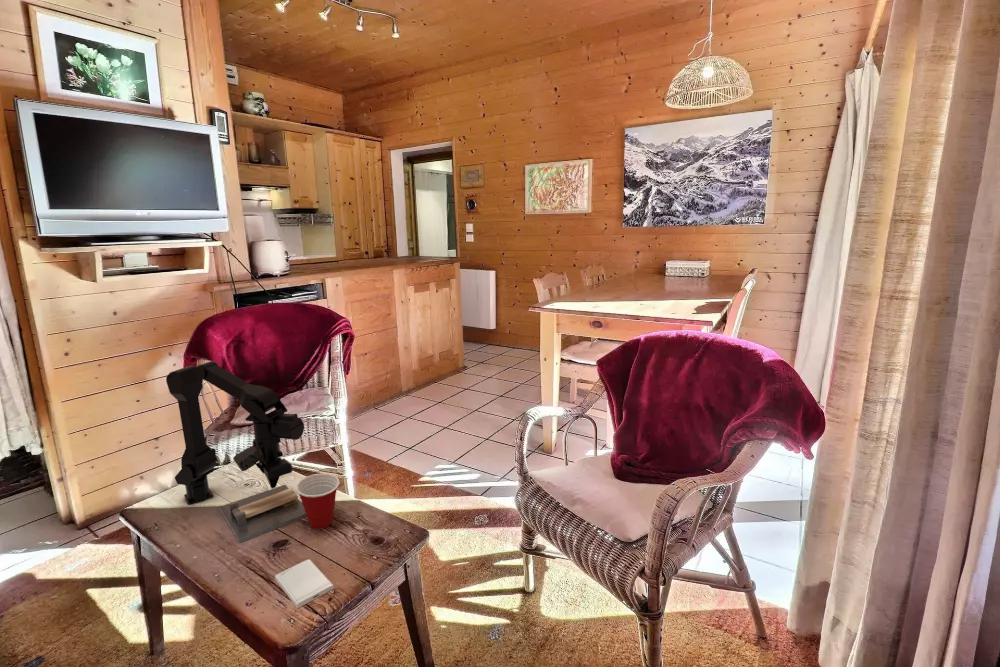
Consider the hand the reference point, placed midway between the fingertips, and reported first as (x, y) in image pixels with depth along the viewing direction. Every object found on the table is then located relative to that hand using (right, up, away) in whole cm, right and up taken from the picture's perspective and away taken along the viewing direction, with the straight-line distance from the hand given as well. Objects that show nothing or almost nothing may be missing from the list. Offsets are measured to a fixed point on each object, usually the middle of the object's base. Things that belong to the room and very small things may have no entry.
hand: (273, 487), depth 140 cm
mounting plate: (-2, -7, 0) cm, 7 cm away
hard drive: (+20, -14, -28) cm, 37 cm away
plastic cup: (+16, -8, -6) cm, 19 cm away
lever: (-2, -5, 0) cm, 6 cm away
